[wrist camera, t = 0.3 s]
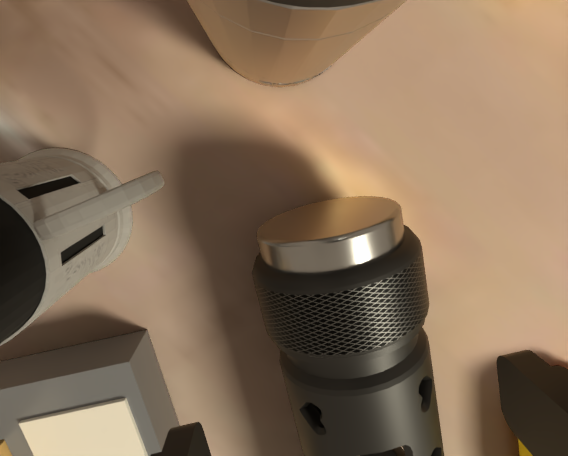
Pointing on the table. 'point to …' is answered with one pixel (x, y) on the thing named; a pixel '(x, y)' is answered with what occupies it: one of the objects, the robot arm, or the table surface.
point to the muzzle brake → (350, 327)
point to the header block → (86, 400)
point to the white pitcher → (59, 228)
